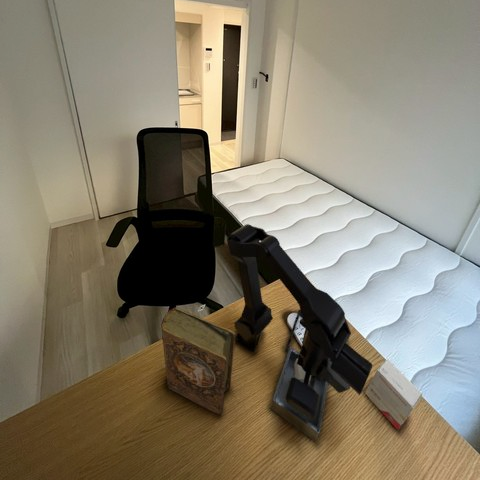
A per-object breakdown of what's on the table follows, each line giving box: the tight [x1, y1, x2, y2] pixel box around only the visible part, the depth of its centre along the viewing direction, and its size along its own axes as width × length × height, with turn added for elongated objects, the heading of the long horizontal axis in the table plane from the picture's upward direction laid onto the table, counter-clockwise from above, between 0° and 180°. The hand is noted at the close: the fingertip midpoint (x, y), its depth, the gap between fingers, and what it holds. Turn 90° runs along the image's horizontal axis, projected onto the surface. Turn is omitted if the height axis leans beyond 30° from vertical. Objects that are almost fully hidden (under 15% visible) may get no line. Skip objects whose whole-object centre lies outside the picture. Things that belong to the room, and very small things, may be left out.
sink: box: [270, 346, 329, 442], centre depth 63 cm, size 11×13×4 cm
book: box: [160, 306, 236, 416], centre depth 58 cm, size 16×6×25 cm, turn 71°
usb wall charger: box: [294, 359, 311, 386], centre depth 61 cm, size 4×7×4 cm, turn 174°
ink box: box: [365, 358, 423, 431], centre depth 61 cm, size 9×5×12 cm, turn 33°
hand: (303, 381), depth 62 cm, fingers closed on usb wall charger, 7 cm apart
